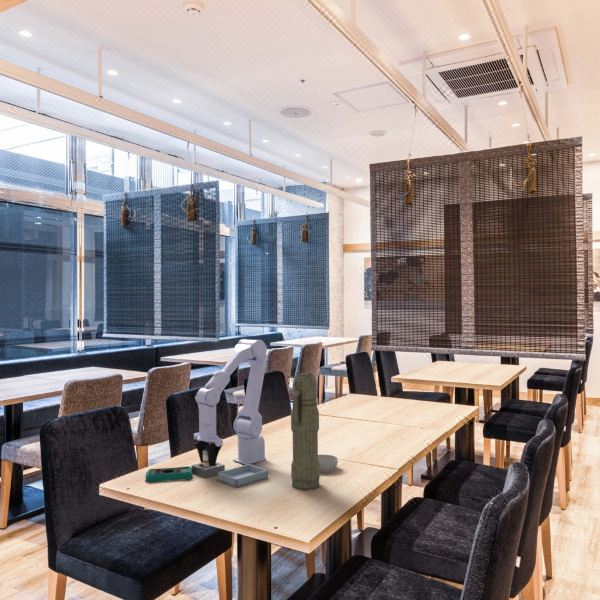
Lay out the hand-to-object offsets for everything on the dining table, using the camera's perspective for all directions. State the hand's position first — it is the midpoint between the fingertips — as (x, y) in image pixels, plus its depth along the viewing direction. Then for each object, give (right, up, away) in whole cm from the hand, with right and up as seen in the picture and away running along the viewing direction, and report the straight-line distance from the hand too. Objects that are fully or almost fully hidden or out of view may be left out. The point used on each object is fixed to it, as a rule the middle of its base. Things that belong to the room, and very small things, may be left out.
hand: (208, 463), depth 185 cm
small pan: (+36, -3, +6) cm, 37 cm away
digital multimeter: (-12, -4, -5) cm, 13 cm away
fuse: (0, -3, 0) cm, 3 cm away
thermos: (+33, -3, -14) cm, 36 cm away
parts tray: (+13, -3, -7) cm, 15 cm away
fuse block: (0, -3, 0) cm, 3 cm away
